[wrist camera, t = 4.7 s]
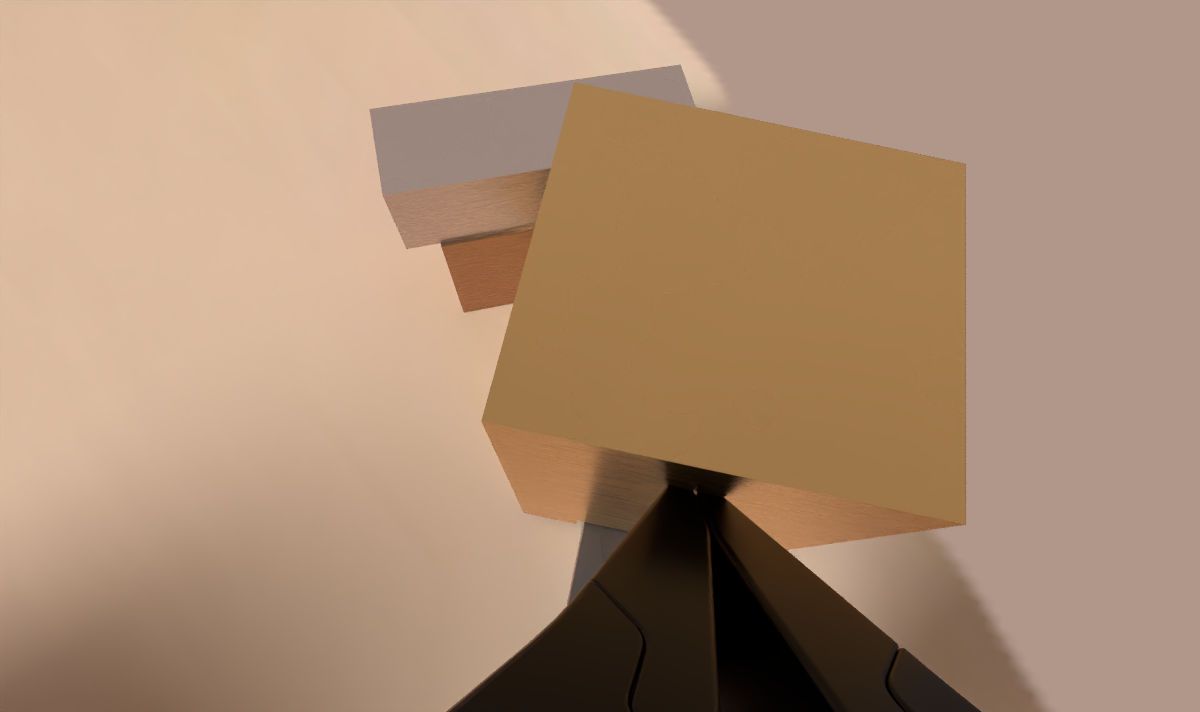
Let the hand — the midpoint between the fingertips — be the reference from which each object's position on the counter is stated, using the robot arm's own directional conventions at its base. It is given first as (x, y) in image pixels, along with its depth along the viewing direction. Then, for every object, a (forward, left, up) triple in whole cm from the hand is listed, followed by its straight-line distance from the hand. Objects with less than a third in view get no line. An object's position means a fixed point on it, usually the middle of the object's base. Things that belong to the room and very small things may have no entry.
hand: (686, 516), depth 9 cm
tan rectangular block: (+3, 0, -8) cm, 9 cm away
